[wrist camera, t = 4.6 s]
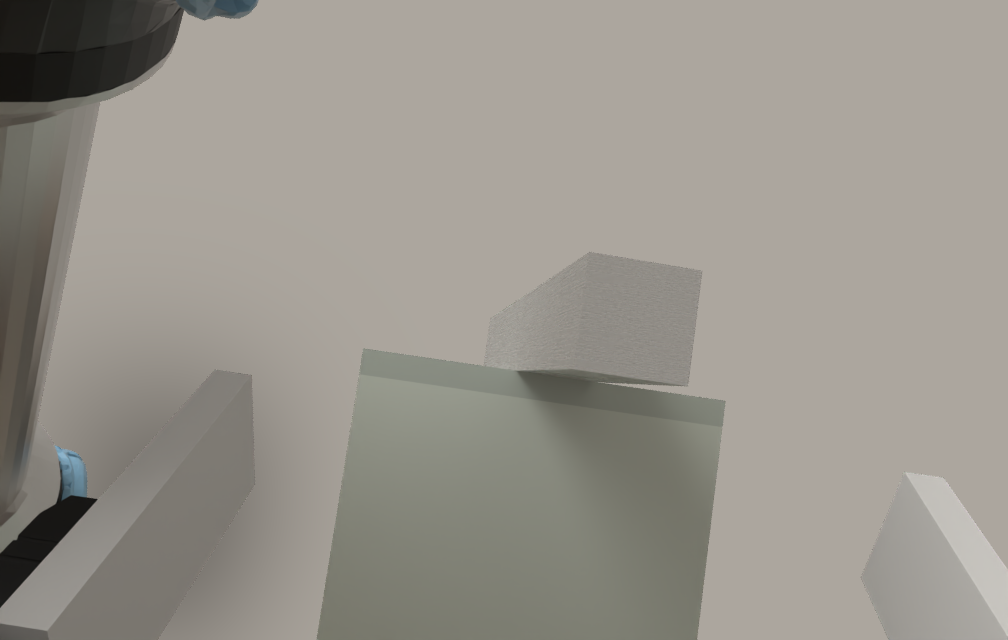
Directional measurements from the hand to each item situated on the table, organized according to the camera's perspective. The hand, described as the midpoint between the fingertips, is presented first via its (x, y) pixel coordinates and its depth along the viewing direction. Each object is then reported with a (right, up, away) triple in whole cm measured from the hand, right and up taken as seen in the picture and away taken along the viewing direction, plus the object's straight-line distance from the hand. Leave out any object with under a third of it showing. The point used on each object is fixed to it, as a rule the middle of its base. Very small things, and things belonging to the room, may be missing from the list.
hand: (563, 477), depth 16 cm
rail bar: (+1, +1, +16) cm, 16 cm away
